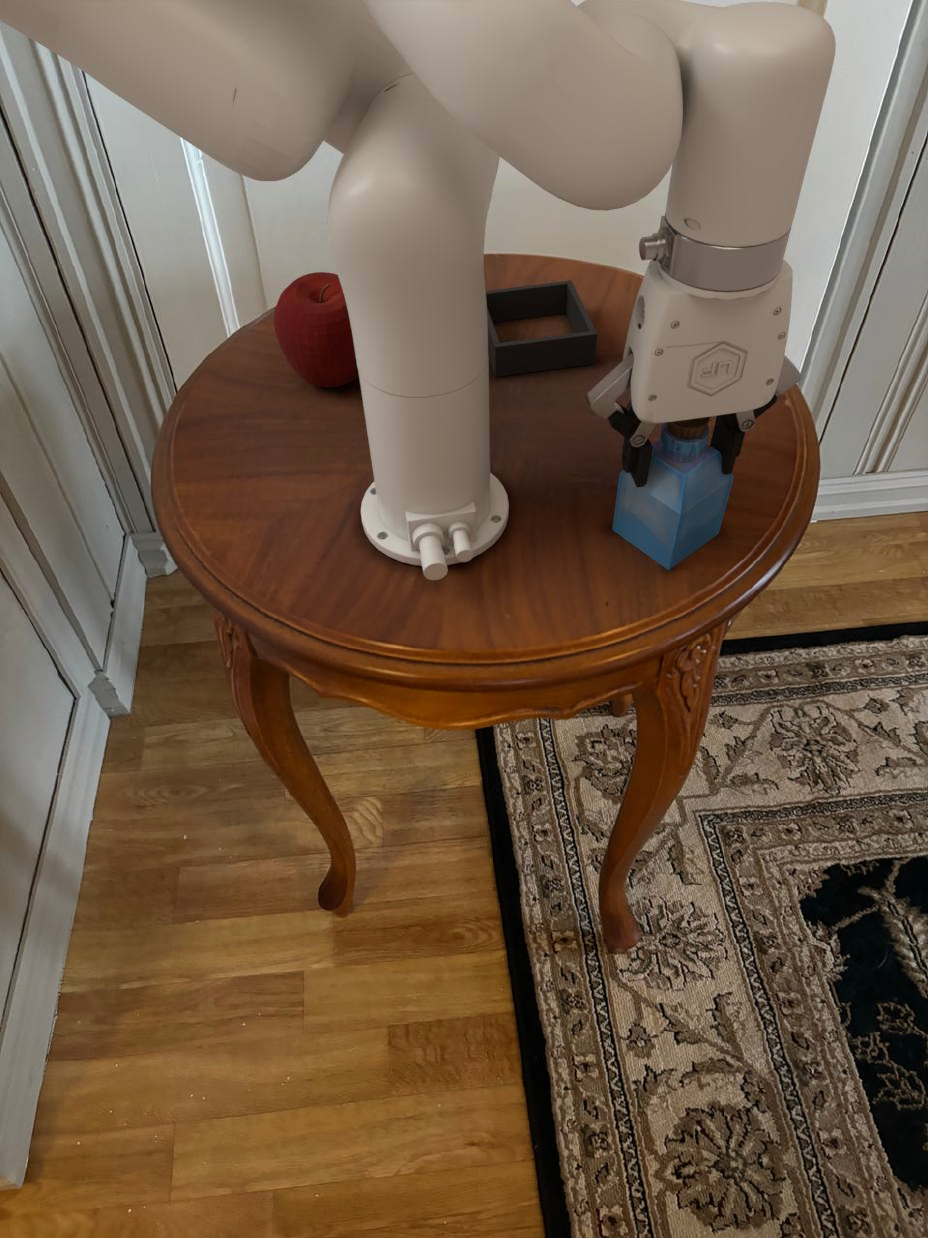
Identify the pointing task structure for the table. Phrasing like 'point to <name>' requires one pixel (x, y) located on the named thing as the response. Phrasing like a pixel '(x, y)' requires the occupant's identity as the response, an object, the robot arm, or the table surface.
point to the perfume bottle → (675, 495)
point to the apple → (316, 330)
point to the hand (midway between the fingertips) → (678, 467)
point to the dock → (547, 349)
